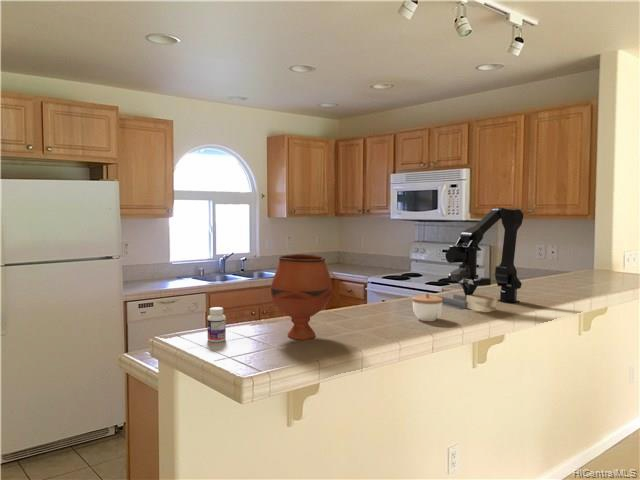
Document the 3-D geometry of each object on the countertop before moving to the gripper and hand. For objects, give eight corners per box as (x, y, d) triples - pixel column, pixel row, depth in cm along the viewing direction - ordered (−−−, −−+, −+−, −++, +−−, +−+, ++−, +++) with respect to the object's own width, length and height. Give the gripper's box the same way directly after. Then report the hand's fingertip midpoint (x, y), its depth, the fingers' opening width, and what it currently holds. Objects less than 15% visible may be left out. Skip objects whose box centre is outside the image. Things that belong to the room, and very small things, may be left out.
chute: (460, 299, 224) (460, 293, 224) (487, 305, 210) (488, 299, 210) (432, 302, 217) (432, 296, 217) (459, 309, 203) (459, 303, 203)
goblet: (282, 347, 147) (283, 260, 146) (262, 331, 165) (262, 254, 163) (342, 340, 155) (343, 258, 153) (317, 326, 172) (318, 252, 171)
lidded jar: (424, 323, 178) (425, 297, 177) (405, 317, 187) (406, 292, 186) (448, 320, 183) (449, 294, 182) (429, 315, 192) (429, 290, 191)
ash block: (477, 306, 210) (477, 294, 210) (495, 310, 201) (496, 298, 201) (466, 307, 207) (466, 295, 207) (484, 312, 198) (485, 299, 198)
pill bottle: (208, 337, 157) (208, 306, 156) (226, 337, 157) (226, 306, 156) (206, 342, 151) (206, 310, 151) (224, 342, 152) (224, 310, 151)
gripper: (438, 260, 213) (437, 297, 214) (471, 265, 196) (469, 305, 197) (458, 259, 218) (457, 295, 219) (492, 264, 201) (490, 303, 203)
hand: (468, 299), depth 209 cm, fingers closed
